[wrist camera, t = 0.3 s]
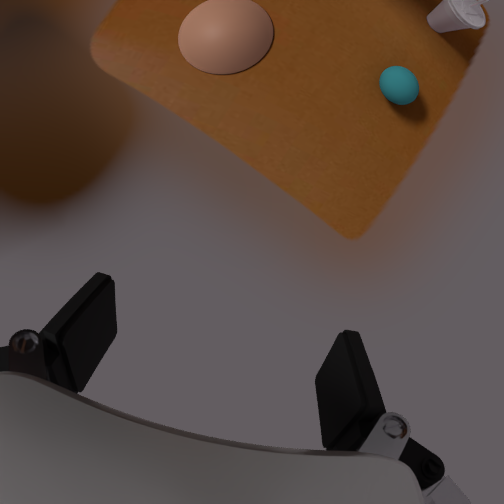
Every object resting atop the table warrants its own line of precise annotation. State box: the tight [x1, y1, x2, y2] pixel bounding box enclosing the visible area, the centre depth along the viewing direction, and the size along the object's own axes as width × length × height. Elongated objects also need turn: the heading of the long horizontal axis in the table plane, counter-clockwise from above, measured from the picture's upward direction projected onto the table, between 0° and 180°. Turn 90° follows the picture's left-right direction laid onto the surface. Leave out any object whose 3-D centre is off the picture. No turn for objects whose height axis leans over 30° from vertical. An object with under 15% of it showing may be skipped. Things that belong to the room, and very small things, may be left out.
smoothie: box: [427, 0, 490, 33], centre depth 19 cm, size 6×6×14 cm
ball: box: [379, 66, 419, 105], centre depth 29 cm, size 6×6×6 cm
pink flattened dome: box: [178, 0, 273, 74], centre depth 30 cm, size 13×13×1 cm
